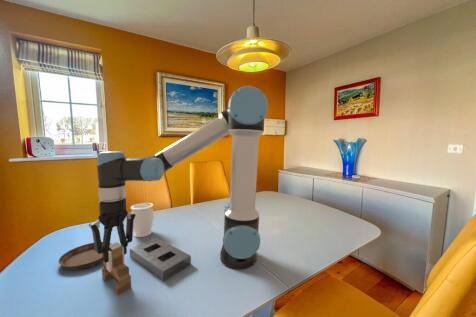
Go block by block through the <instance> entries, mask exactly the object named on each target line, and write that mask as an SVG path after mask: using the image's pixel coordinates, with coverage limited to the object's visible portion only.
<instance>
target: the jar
mask: <svg viewBox="0 0 476 317" xmlns="http://www.w3.org/2000/svg"><path fill="white" fill-rule="evenodd" d="M153 207H154V204H153V203H151V202H142V203H136V204H133V205H131V206H130V210H131V212H132V213H134V214H135V218H134V220H133V233H134V234H133V236H134V237H136V238H144V237H147V236H149V235H151V234H152V232H153V231H152V228H153V223H154V214H155V213H154V210H153Z"/></svg>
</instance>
